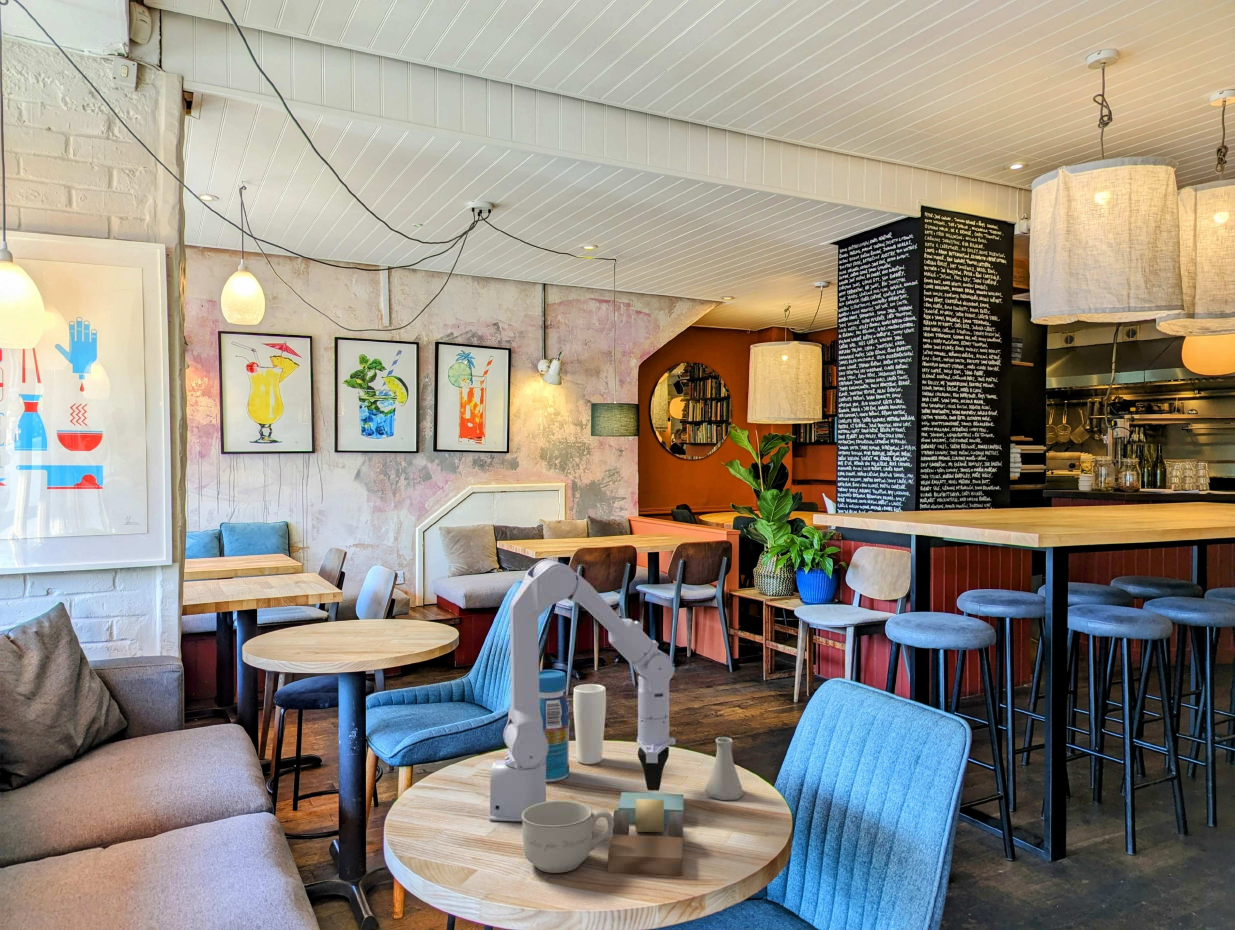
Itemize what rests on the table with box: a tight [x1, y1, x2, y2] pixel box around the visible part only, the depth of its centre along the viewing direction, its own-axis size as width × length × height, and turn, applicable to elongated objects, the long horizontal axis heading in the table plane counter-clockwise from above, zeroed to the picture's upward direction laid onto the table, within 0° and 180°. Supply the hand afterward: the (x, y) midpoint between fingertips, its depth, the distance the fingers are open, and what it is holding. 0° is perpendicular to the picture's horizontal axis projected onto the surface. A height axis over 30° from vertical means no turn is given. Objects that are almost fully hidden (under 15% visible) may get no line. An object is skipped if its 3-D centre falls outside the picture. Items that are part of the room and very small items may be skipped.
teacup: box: [522, 800, 614, 874], centre depth 123 cm, size 14×11×8 cm
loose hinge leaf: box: [617, 791, 684, 833], centre depth 139 cm, size 11×12×5 cm
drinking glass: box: [572, 683, 607, 765], centre depth 168 cm, size 7×7×15 cm
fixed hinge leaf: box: [607, 809, 684, 876], centre depth 126 cm, size 11×12×5 cm
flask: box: [704, 736, 745, 801], centre depth 151 cm, size 7×7×10 cm
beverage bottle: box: [539, 669, 571, 783], centre depth 160 cm, size 8×8×20 cm
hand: (653, 789), depth 149 cm, fingers closed
